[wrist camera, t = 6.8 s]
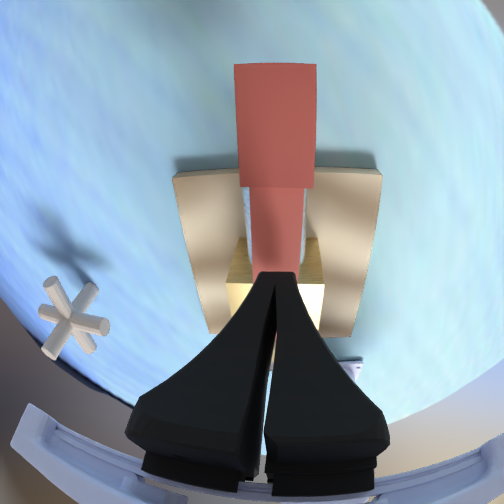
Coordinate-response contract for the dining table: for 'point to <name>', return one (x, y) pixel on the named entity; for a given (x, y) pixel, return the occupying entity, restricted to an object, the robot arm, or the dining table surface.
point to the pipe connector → (71, 318)
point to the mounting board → (317, 226)
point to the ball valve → (309, 269)
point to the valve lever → (276, 157)
